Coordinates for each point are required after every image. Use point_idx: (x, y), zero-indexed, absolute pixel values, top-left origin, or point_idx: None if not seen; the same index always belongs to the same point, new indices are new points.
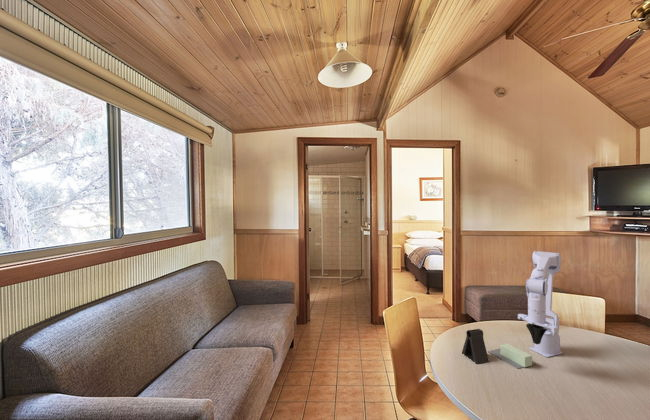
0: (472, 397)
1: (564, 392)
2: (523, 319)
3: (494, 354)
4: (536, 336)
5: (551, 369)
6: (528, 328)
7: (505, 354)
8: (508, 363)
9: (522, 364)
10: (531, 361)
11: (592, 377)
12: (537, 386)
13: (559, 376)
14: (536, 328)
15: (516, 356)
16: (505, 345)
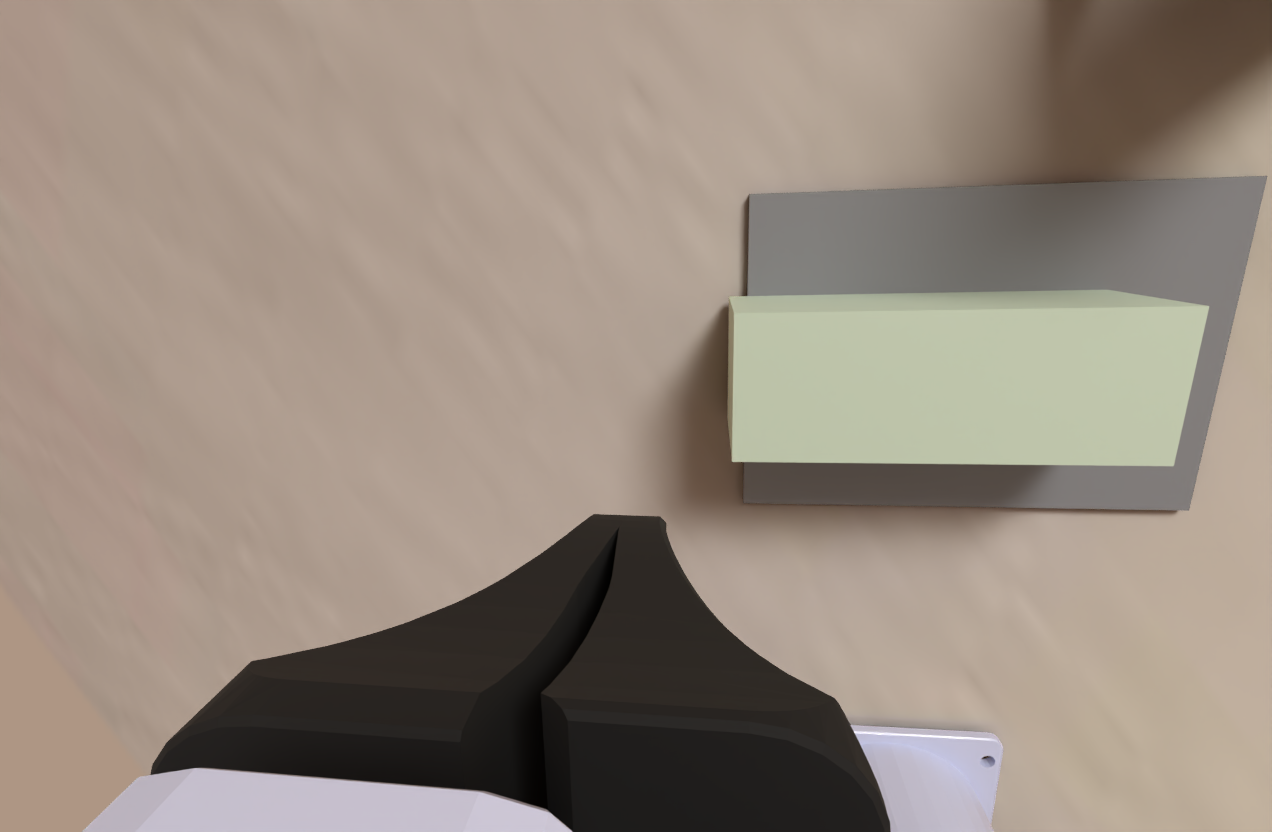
0: None
1: (269, 261)
2: None
3: (1147, 192)
4: (503, 581)
5: None
6: (736, 665)
7: (1034, 294)
8: (891, 191)
9: (763, 299)
10: (729, 425)
11: None
12: (405, 75)
13: (490, 490)
14: (225, 730)
15: (865, 303)
16: (1143, 373)
